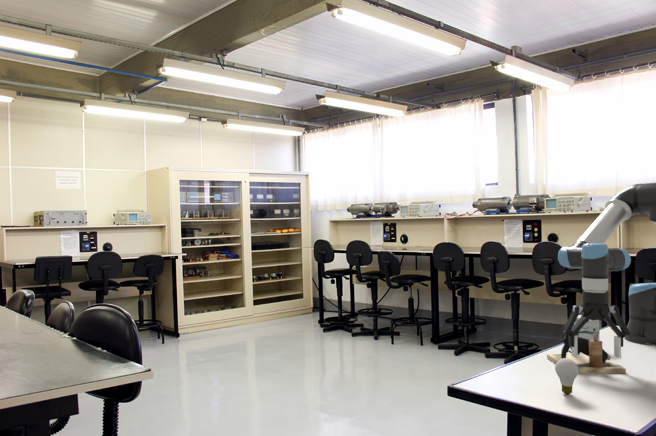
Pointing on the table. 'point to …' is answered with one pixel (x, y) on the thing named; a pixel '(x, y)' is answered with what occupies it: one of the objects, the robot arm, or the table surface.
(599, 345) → the awl
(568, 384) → the light bulb
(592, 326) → the ink box
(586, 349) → the gun
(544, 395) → the table surface
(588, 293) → the robot arm
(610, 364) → the board
